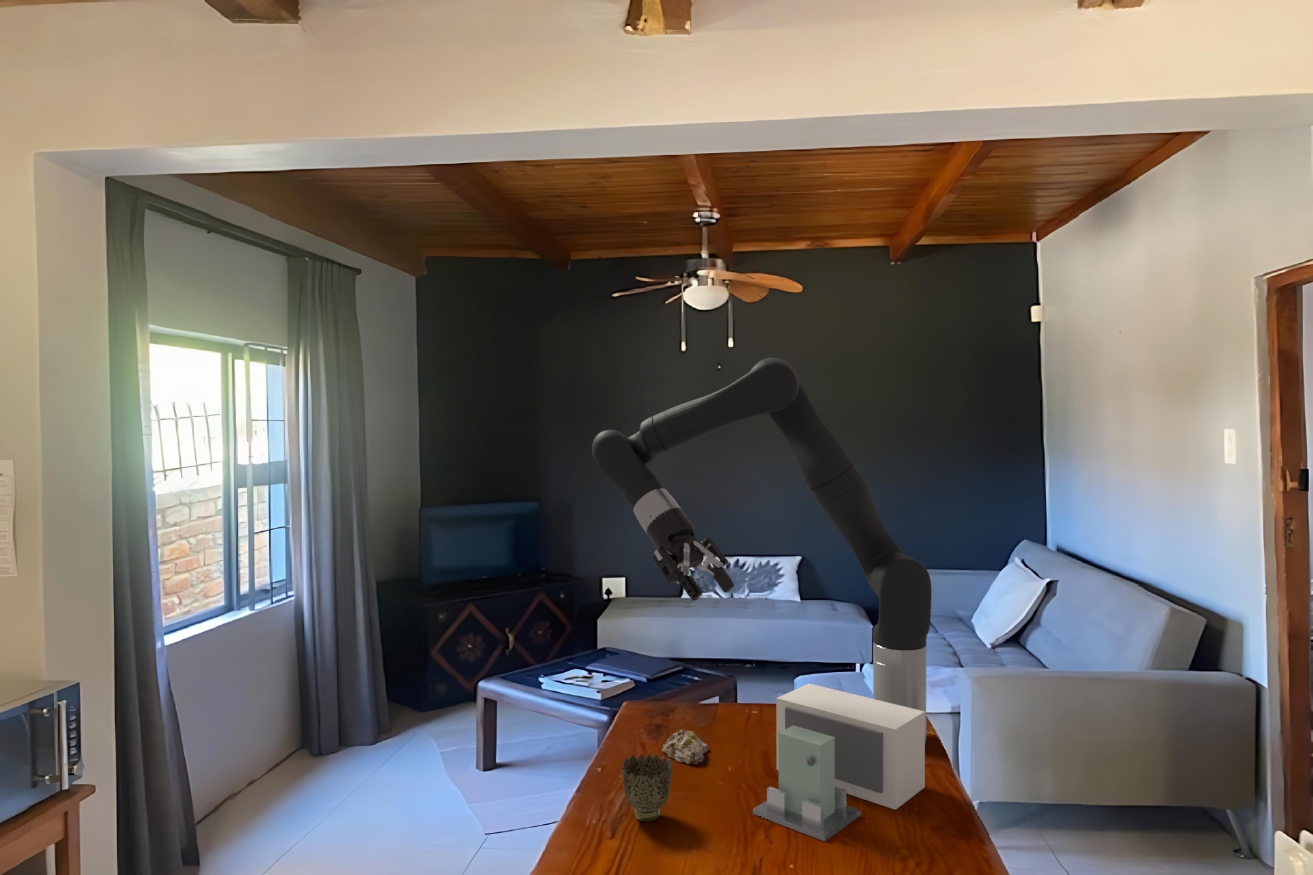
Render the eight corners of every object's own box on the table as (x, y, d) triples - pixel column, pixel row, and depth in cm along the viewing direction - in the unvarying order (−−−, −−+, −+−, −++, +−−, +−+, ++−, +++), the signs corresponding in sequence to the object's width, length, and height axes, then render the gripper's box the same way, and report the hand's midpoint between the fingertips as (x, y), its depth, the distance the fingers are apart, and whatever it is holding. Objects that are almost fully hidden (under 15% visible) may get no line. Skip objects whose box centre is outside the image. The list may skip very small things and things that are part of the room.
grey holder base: (790, 791, 130) (790, 767, 130) (860, 815, 122) (860, 789, 122) (753, 814, 123) (753, 788, 123) (824, 841, 115) (824, 814, 115)
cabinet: (809, 751, 145) (808, 683, 145) (924, 787, 131) (924, 711, 131) (774, 771, 137) (774, 698, 137) (893, 811, 123) (893, 730, 123)
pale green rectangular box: (793, 797, 126) (793, 725, 126) (834, 812, 122) (834, 737, 121) (774, 809, 122) (774, 734, 122) (816, 824, 118) (816, 747, 118)
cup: (667, 832, 118) (667, 776, 117) (616, 827, 119) (616, 772, 119) (676, 808, 125) (676, 755, 125) (628, 803, 126) (628, 751, 126)
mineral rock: (654, 732, 149) (696, 717, 151) (661, 754, 150) (702, 739, 151) (667, 758, 139) (712, 741, 140) (674, 782, 139) (719, 765, 141)
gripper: (646, 509, 141) (700, 586, 133) (700, 502, 151) (752, 573, 144) (624, 538, 145) (675, 614, 137) (678, 529, 155) (727, 599, 148)
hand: (714, 593), depth 141 cm, fingers open, 8 cm apart
